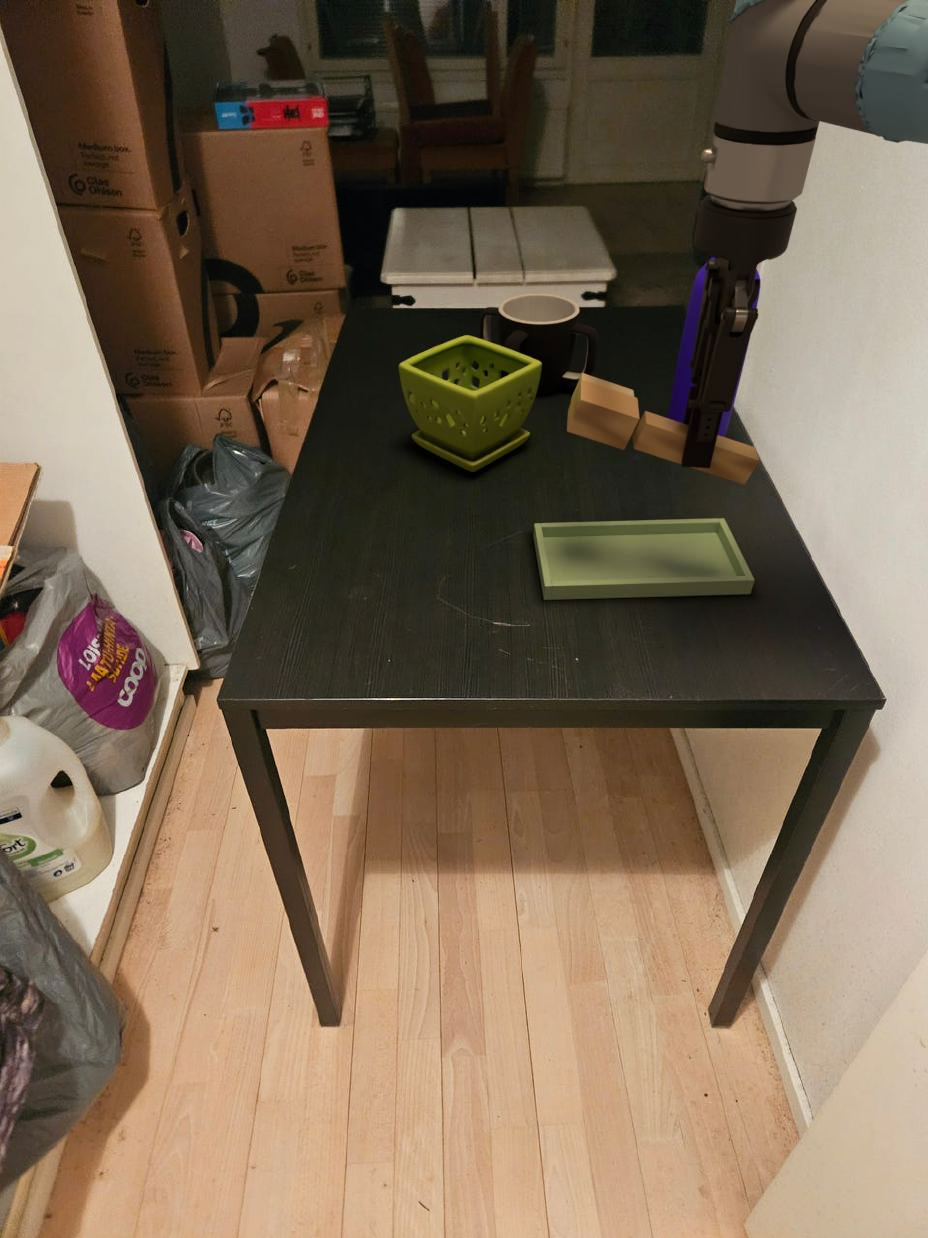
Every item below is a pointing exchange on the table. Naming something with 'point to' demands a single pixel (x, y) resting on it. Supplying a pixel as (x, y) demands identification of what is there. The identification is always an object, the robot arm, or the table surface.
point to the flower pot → (470, 400)
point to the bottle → (685, 355)
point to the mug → (542, 335)
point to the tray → (639, 559)
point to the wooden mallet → (647, 429)
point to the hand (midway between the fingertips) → (693, 456)
